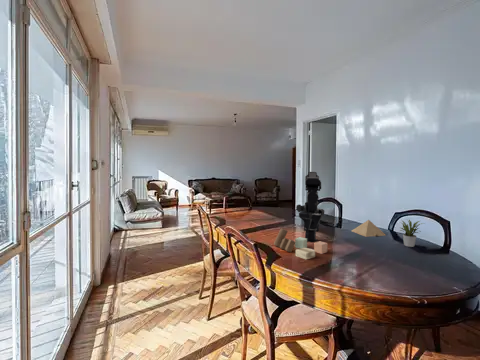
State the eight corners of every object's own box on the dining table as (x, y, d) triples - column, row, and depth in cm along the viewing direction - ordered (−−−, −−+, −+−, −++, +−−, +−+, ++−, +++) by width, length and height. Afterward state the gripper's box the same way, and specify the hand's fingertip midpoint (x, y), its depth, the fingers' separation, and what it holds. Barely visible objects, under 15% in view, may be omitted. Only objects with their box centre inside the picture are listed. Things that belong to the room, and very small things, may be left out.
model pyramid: (366, 237, 189) (366, 222, 188) (350, 231, 205) (350, 217, 205) (387, 236, 192) (388, 221, 192) (370, 230, 209) (370, 217, 209)
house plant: (428, 245, 170) (429, 218, 169) (423, 250, 160) (424, 222, 159) (401, 241, 180) (402, 215, 178) (395, 245, 169) (396, 218, 168)
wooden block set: (292, 256, 155) (300, 239, 155) (278, 250, 154) (286, 233, 153) (283, 245, 173) (290, 230, 173) (270, 240, 172) (277, 225, 171)
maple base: (304, 253, 153) (304, 247, 153) (314, 257, 148) (315, 250, 147) (295, 256, 149) (295, 249, 149) (305, 260, 144) (306, 253, 143)
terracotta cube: (319, 249, 160) (319, 241, 160) (327, 252, 156) (327, 243, 156) (314, 251, 157) (314, 242, 156) (321, 253, 153) (321, 244, 153)
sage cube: (299, 245, 168) (299, 237, 168) (306, 247, 165) (307, 238, 165) (295, 247, 164) (295, 238, 164) (303, 249, 161) (303, 240, 161)
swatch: (306, 248, 163) (306, 247, 163) (315, 250, 158) (315, 249, 158) (299, 249, 159) (299, 249, 159) (308, 252, 154) (308, 251, 154)
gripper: (307, 197, 168) (306, 223, 169) (290, 200, 154) (289, 229, 155) (325, 199, 161) (324, 226, 162) (309, 202, 147) (308, 232, 148)
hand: (311, 228), depth 157 cm, fingers open, 9 cm apart
